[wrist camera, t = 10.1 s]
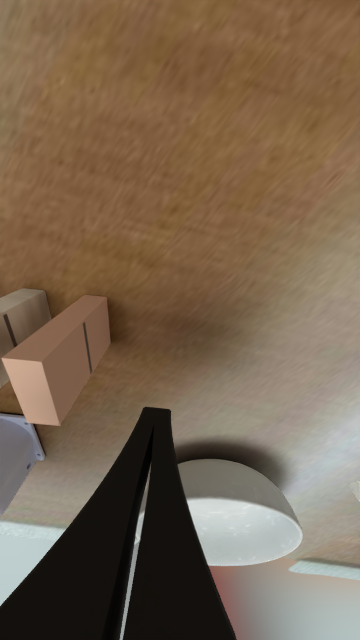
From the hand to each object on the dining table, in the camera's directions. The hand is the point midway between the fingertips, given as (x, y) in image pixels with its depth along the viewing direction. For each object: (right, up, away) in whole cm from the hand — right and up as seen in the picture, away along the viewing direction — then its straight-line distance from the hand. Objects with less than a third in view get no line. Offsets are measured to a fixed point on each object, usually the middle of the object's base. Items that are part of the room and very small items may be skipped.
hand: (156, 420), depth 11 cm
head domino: (-7, +5, +9) cm, 12 cm away
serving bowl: (+6, -19, +21) cm, 29 cm away
